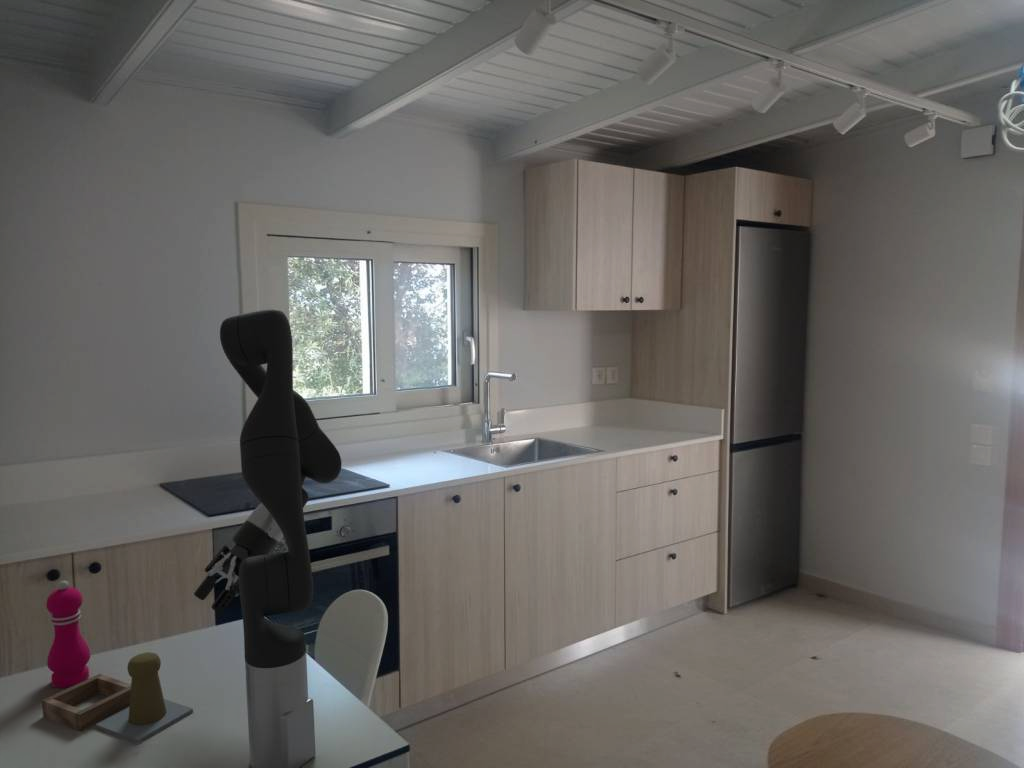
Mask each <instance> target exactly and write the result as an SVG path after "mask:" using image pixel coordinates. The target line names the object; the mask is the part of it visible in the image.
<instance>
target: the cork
mask: <svg viewBox="0 0 1024 768" xmlns="http://www.w3.org/2000/svg"><path fill="white" fill-rule="evenodd" d="M161 665H162V663H161V658H160V656H159V655H158V654H157V653H155V652H152V651H151V652H142V653H139V654H136V655H134V656H132V658H130V659H129V661H128V663H127V672H128V675H129V677H131V683H130V684H131V694H130V706H129V719H128V720H129V723H131V724H133V725H147V724H150V723H154V722H156V721H158V720H160V719H161V718H163V717H164V716H165V715H166V712H167V711H166V707H165V702H164V699H165V698H164V693H163V690H162V685H161V680H160V675H159V671H160V668H161Z"/></svg>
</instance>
